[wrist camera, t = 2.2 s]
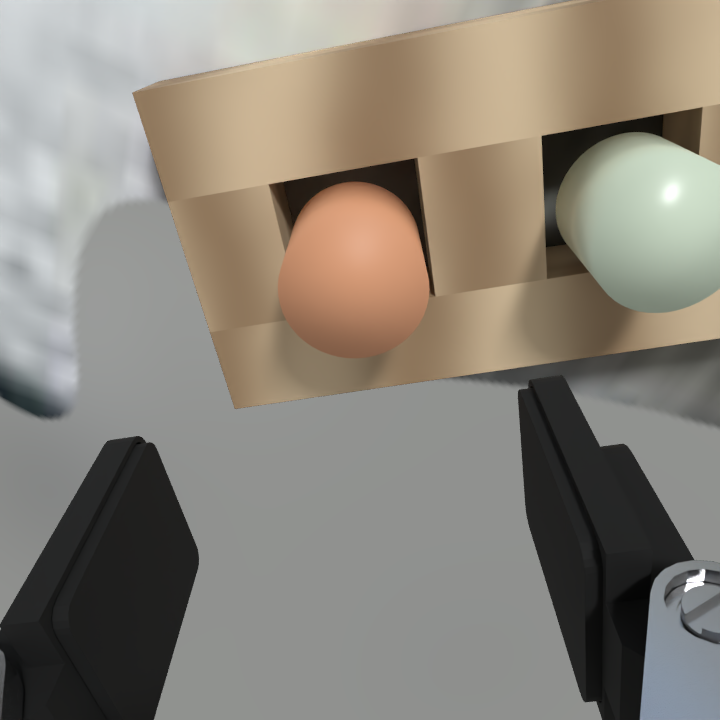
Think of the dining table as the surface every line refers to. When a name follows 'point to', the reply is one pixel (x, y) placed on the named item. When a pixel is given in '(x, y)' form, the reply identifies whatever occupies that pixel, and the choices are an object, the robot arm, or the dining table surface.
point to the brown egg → (354, 272)
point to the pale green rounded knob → (644, 221)
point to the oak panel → (431, 182)
